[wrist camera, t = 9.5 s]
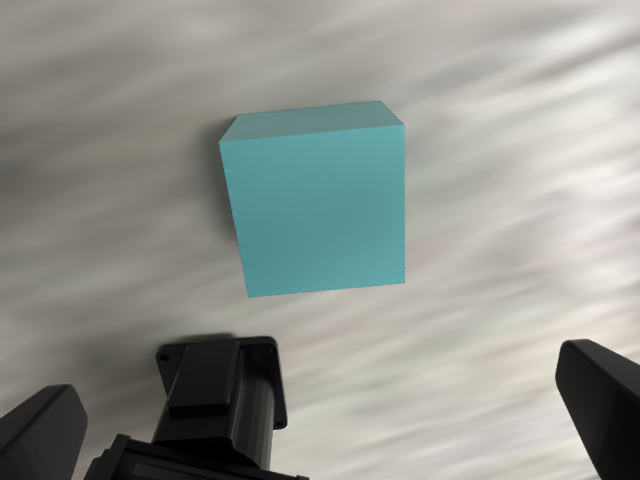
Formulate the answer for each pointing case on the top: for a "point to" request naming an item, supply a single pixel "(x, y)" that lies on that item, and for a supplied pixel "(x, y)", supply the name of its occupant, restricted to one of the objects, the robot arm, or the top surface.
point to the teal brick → (317, 197)
